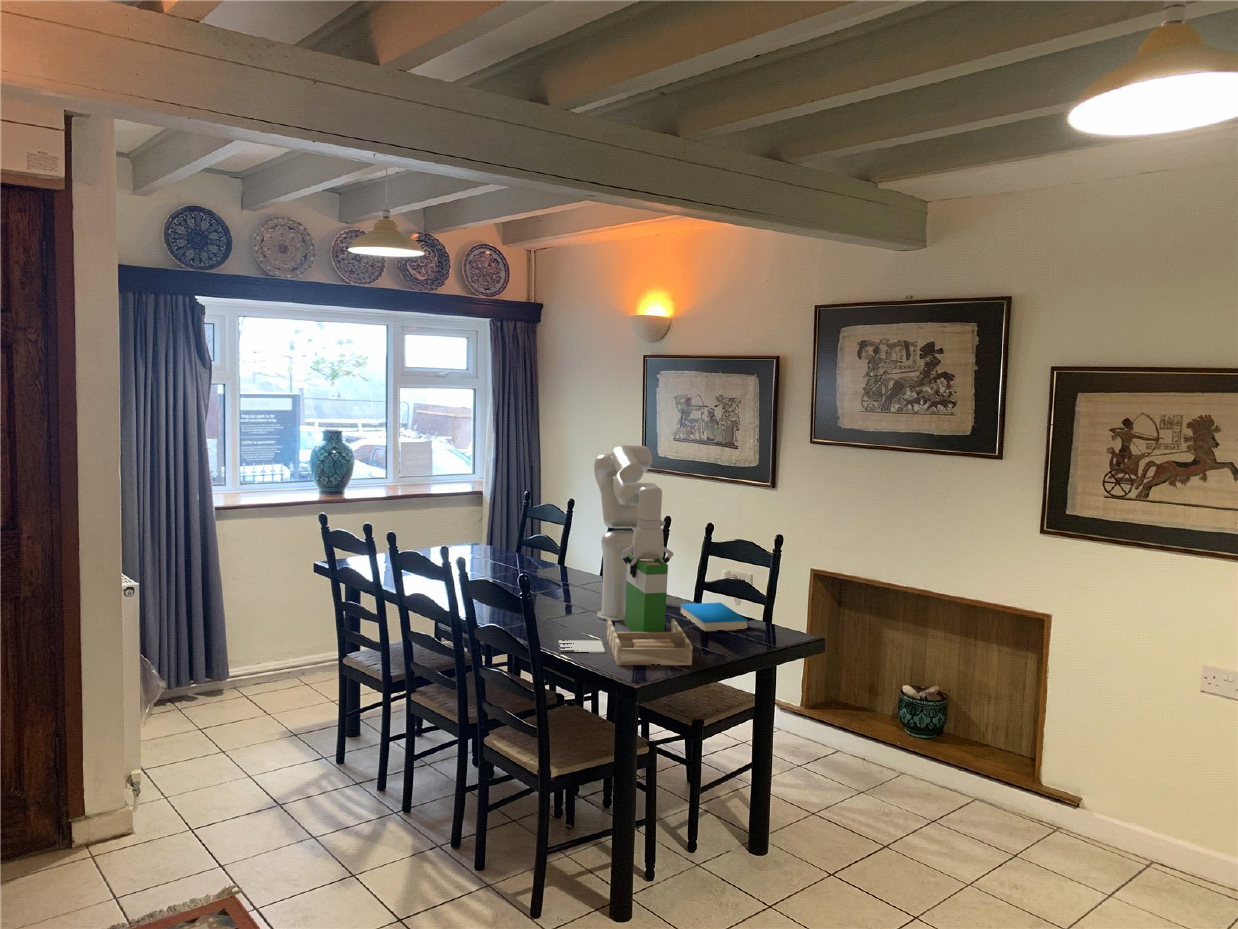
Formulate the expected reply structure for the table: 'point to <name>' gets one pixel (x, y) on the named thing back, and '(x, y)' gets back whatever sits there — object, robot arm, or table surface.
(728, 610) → the book
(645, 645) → the oak offcut
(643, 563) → the hardback book
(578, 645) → the mat
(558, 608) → the table surface
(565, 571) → the table surface
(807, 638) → the table surface
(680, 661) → the rack
